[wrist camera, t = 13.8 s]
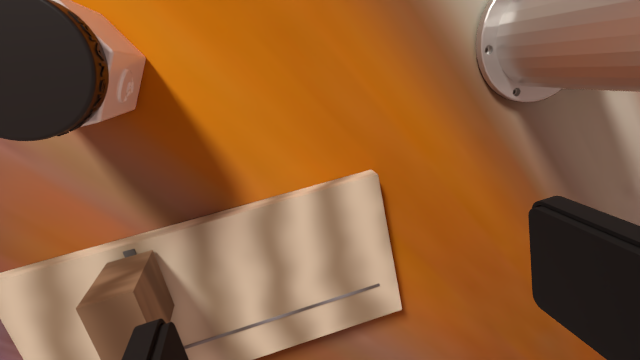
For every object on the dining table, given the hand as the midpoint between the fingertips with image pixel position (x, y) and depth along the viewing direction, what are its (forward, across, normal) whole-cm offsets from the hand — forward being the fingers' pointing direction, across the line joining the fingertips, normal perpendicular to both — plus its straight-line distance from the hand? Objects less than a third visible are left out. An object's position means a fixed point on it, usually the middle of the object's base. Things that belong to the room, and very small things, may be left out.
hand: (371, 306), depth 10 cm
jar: (+28, +13, -9) cm, 33 cm away
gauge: (+26, +15, +13) cm, 33 cm away
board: (+28, +9, +14) cm, 33 cm away
